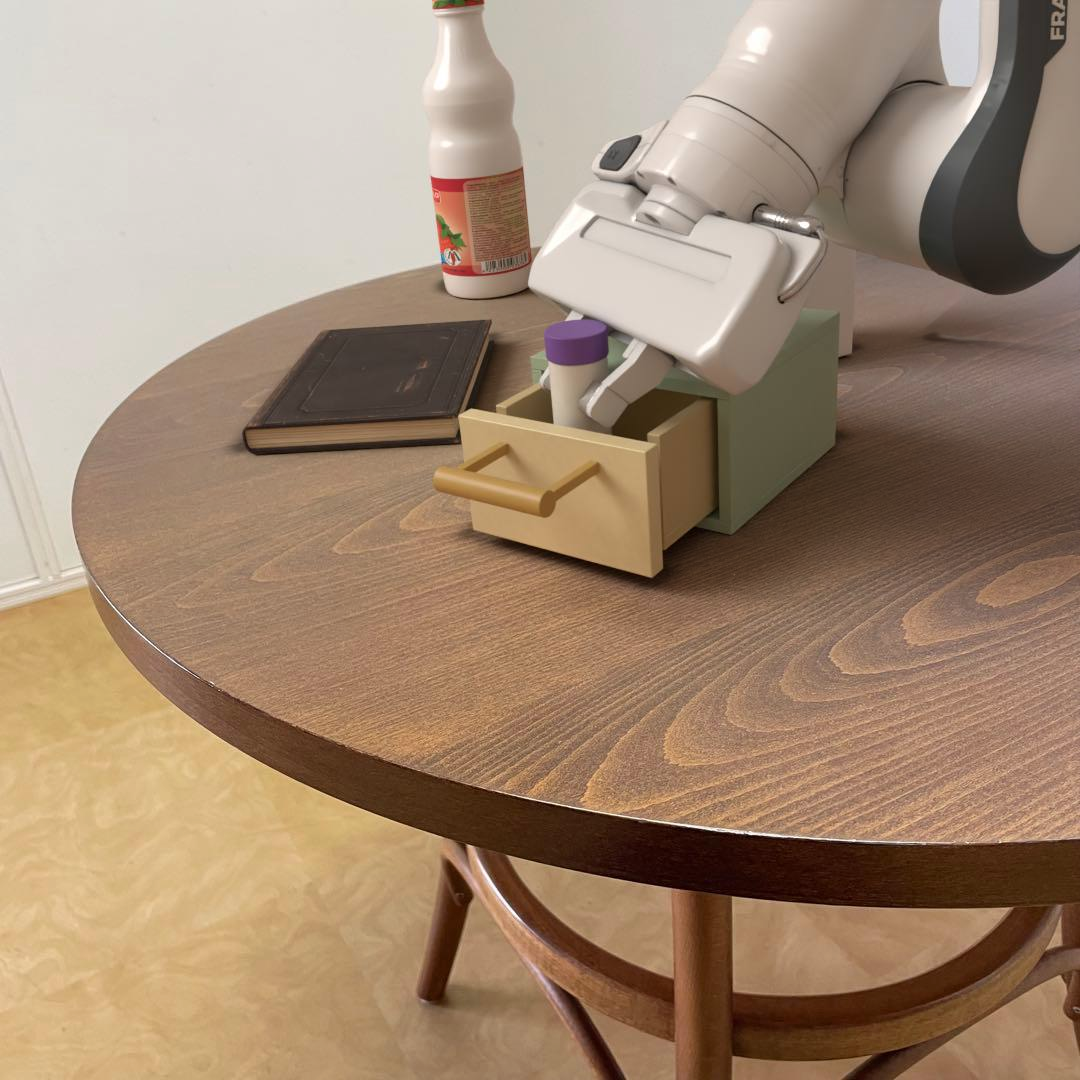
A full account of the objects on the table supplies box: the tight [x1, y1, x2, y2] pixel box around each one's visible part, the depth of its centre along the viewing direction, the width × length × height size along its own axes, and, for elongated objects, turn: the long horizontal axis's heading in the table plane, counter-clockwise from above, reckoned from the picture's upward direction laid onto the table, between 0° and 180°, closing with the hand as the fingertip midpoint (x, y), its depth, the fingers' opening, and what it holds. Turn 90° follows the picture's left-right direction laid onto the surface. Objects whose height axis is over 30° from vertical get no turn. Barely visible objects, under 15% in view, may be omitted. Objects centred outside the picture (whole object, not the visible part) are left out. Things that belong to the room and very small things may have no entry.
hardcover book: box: [241, 318, 495, 455], centre depth 92 cm, size 16×23×2 cm
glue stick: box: [543, 320, 612, 435], centre depth 62 cm, size 3×3×10 cm
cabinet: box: [529, 308, 840, 536], centre depth 72 cm, size 15×14×9 cm
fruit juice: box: [421, 0, 533, 300], centre depth 112 cm, size 9×9×28 cm
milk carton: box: [804, 240, 857, 358], centre depth 88 cm, size 7×7×19 cm
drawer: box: [432, 382, 719, 579], centre depth 64 cm, size 19×12×7 cm, turn 143°
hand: (571, 406), depth 62 cm, fingers closed on glue stick, 3 cm apart
